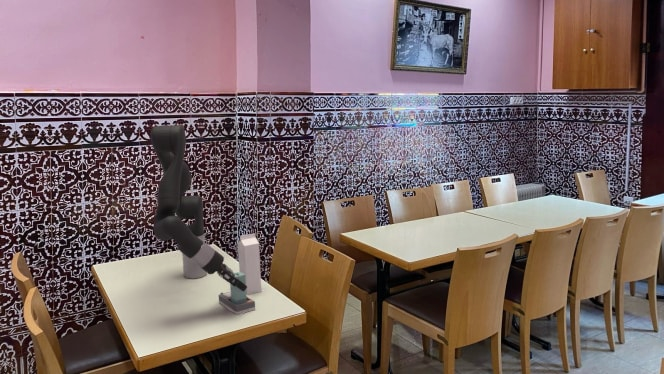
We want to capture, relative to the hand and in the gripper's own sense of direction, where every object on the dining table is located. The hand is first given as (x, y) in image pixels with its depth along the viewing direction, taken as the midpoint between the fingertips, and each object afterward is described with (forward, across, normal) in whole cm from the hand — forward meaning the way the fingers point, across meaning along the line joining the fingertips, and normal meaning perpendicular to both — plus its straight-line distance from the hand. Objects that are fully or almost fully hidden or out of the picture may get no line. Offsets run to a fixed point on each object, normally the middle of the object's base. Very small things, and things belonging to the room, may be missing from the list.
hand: (243, 286), depth 193 cm
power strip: (+3, +4, +7) cm, 9 cm away
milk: (+10, +14, +2) cm, 17 cm away
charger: (+3, 0, +5) cm, 6 cm away
